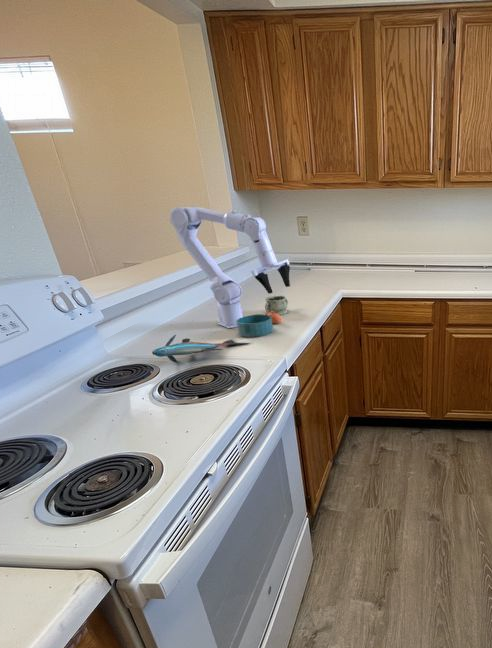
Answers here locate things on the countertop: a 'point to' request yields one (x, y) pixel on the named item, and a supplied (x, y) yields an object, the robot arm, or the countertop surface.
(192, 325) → the countertop surface
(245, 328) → the teal pet bowl
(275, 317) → the toy fish
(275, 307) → the vessel
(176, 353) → the fish
